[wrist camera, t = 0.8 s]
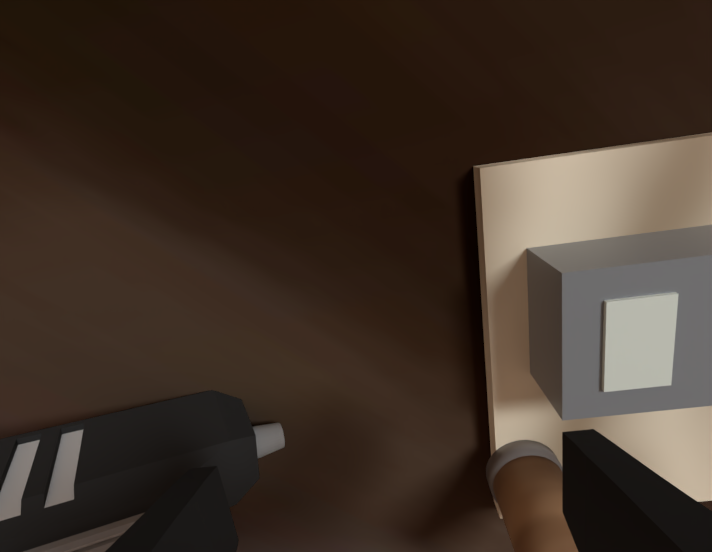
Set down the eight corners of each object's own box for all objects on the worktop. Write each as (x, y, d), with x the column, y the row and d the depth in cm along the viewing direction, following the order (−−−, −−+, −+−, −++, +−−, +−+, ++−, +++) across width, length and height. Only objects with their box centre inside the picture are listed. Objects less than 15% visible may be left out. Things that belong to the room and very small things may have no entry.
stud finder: (735, 221, 15) (825, 242, 12) (719, 352, 17) (797, 400, 14) (526, 248, 16) (564, 274, 13) (529, 372, 17) (564, 423, 14)
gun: (244, 379, 25) (302, 506, 16) (-144, 468, 18) (-388, 759, 10) (241, 334, 24) (299, 442, 16) (-169, 410, 18) (-459, 672, 9)
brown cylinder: (573, 469, 18) (678, 639, 12) (518, 510, 19) (589, 690, 13) (526, 426, 18) (609, 582, 12) (470, 470, 18) (521, 638, 12)
